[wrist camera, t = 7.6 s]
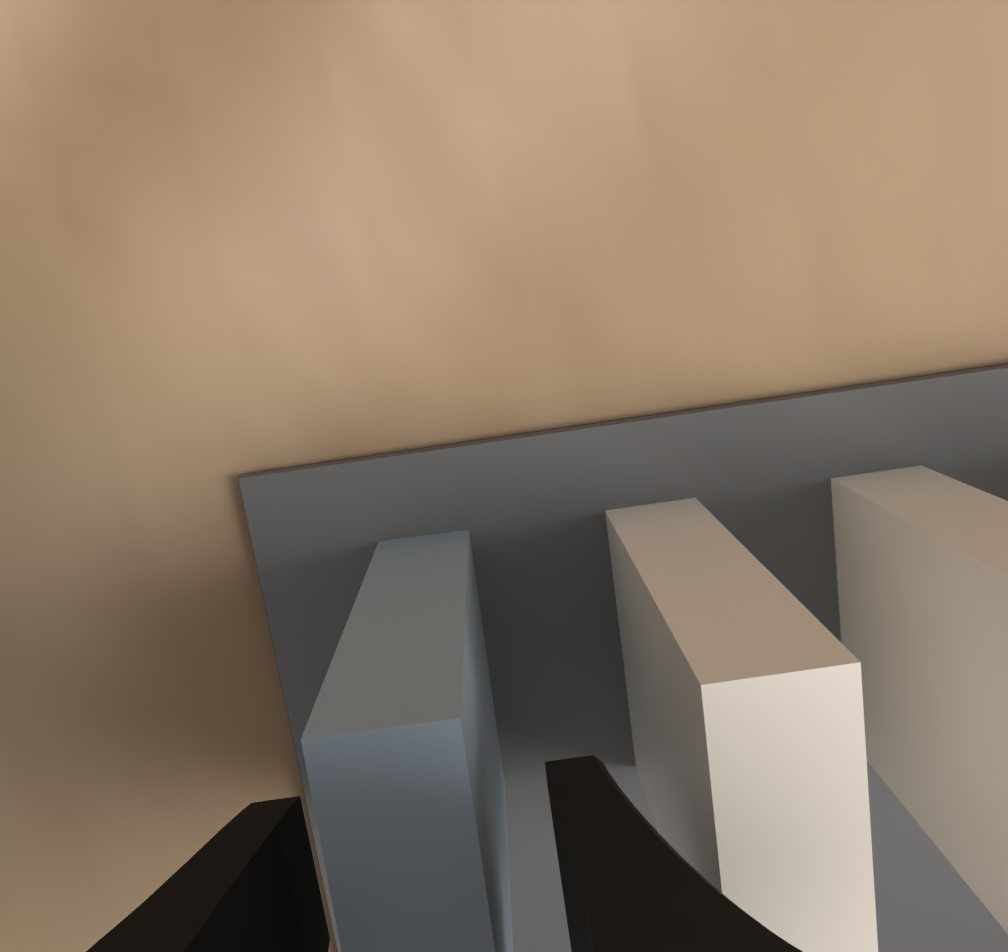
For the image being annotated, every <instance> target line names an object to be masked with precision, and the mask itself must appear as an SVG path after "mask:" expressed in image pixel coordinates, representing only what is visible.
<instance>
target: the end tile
mask: <svg viewBox="0 0 1008 952" xmlns="http://www.w3.org/2000/svg"><path fill="white" fill-rule="evenodd" d="M301 743H302V748H303V754H304V759H305V764H306V769H307V774H308V780H309V785H310V790H311V795H312V800H313V806H314V811H315V816H316V821H317V826H318V832H319V837H320V842H321V847H322V852H323V858H324V863H325V868H326V873H327V878H328V883H329V889H330V894H331V899H332V904H333V909H334V915H335V920H336V925H337V930H338V935H339V941H340V946H341V951H342V952H513V936H512V916H511V896H510V875H509V855H508V835H507V815H506V794H505V781H504V774H503V767H502V760H501V753H500V746H499V738H498V731H497V724H496V717H495V710H494V703H493V696H492V689H491V682H490V675H489V668H488V661H487V653H486V646H485V639H484V632H483V625H482V618H481V611H480V604H479V597H478V590H477V583H476V576H475V568H474V561H473V554H472V547H471V540H470V533H469V530H461V531H454V532H446V533H438V534H431V535H423V536H415V537H408V538H400V539H392V540H385V541H379V542H378V544H377V547H376V549H375V552H374V554H373V557H372V560H371V562H370V565H369V567H368V570H367V572H366V575H365V577H364V580H363V582H362V585H361V587H360V590H359V593H358V595H357V598H356V600H355V603H354V605H353V608H352V610H351V613H350V615H349V618H348V620H347V623H346V626H345V628H344V631H343V633H342V636H341V638H340V641H339V643H338V646H337V648H336V651H335V653H334V656H333V659H332V661H331V664H330V666H329V669H328V671H327V674H326V676H325V679H324V681H323V684H322V686H321V689H320V692H319V694H318V697H317V699H316V702H315V704H314V707H313V709H312V712H311V714H310V717H309V719H308V722H307V725H306V727H305V730H304V732H303V735H302V737H301Z"/></svg>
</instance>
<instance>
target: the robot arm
mask: <svg viewBox="0 0 1008 952" xmlns="http://www.w3.org/2000/svg"><path fill="white" fill-rule="evenodd" d="M545 769H546V778H547V786H548V793H549V800H550V807H551V814H552V821H553V828H554V835H555V841H556V848H557V855H558V862H559V869H560V876H561V883H562V890H563V896H564V903H565V910H566V917H567V924H568V931H569V938H570V945H571V951H572V952H803V951H801V950H799V949H798V948H796V947H794V946H793V945H791V944H790V943H788V942H786V941H785V940H783V939H782V938H780V937H779V936H777V935H776V934H774V933H773V932H771V931H770V930H769V929H767V928H766V927H765V926H763V925H762V924H761V923H759V922H758V921H757V920H755V919H754V918H753V917H751V916H750V915H749V914H747V913H746V912H745V911H743V910H742V909H741V908H740V907H738V906H737V905H736V904H735V903H733V902H732V901H731V900H730V899H728V898H727V897H726V896H725V895H724V894H722V893H721V892H720V891H719V890H718V889H717V888H715V887H714V886H713V885H712V884H711V883H710V882H709V881H707V880H706V879H705V878H704V877H703V876H702V875H701V874H700V873H699V872H698V871H697V870H695V869H694V868H693V867H692V866H691V865H690V864H689V863H688V862H687V861H686V860H685V859H684V858H683V857H682V856H681V855H680V854H679V853H678V852H677V851H676V850H675V849H674V848H673V847H671V845H670V844H669V843H668V842H667V841H666V840H665V839H664V838H663V837H662V836H661V835H660V834H659V833H658V832H657V831H656V829H655V828H654V827H653V826H652V825H651V824H650V823H649V822H648V821H647V820H646V819H645V818H644V816H643V815H642V814H641V813H640V812H639V811H638V810H637V808H636V807H635V806H634V805H633V803H632V802H631V801H630V800H629V799H628V797H627V796H626V795H625V794H624V792H623V791H622V790H621V788H620V787H619V786H618V784H617V783H616V782H615V780H614V779H613V778H612V776H611V775H610V773H609V772H608V770H607V768H606V767H605V765H604V763H603V762H602V761H601V760H599V759H598V758H597V757H595V756H594V755H590V756H582V757H575V758H568V759H561V760H554V761H547V762H545ZM329 940H330V937H329V932H328V928H327V923H326V918H325V913H324V909H323V904H322V899H321V894H320V890H319V885H318V880H317V875H316V871H315V866H314V861H313V856H312V852H311V847H310V842H309V837H308V833H307V828H306V823H305V818H304V814H303V809H302V804H301V799H300V796H298V797H291V798H284V799H277V800H269V801H262V802H255V803H251V804H250V805H249V806H247V807H246V808H245V809H244V810H242V811H241V812H240V813H239V814H238V815H237V816H235V817H234V818H233V819H232V820H231V821H230V822H229V823H228V824H227V825H226V826H224V827H223V828H222V829H221V830H220V831H219V832H218V833H217V834H216V835H215V836H214V837H213V838H212V839H211V840H210V841H209V842H207V843H206V844H205V845H204V846H203V847H202V848H201V849H200V850H199V851H198V852H197V853H196V854H195V855H194V856H193V857H192V858H191V859H190V860H188V861H187V862H186V863H185V864H184V865H183V866H182V867H181V868H180V869H179V870H178V871H177V872H176V873H175V874H173V875H172V876H171V877H170V878H169V879H168V880H167V881H166V882H165V883H164V884H163V885H162V886H161V887H160V888H158V889H157V890H156V891H155V892H154V893H153V894H152V895H151V896H150V897H149V898H148V899H147V900H146V901H144V902H143V903H142V904H141V905H140V906H139V907H138V908H136V909H135V910H134V911H133V912H132V913H131V914H129V915H128V916H127V917H126V918H125V919H124V920H122V921H121V922H120V923H119V924H118V925H117V926H116V927H114V928H113V929H112V930H111V931H110V932H109V933H107V934H106V935H105V936H104V937H103V938H102V939H100V940H99V941H98V942H97V943H96V944H95V945H93V946H92V947H91V948H90V949H89V950H88V951H86V952H328V948H329Z"/></svg>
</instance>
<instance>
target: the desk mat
mask: <svg viewBox="0 0 1008 952" xmlns="http://www.w3.org/2000/svg"><path fill="white" fill-rule="evenodd" d="M920 465H922V466H924V467H926V468H929V469H931V470H934V471H936V472H938V473H941V474H943V475H946V476H948V477H951V478H953V479H955V480H958V481H960V482H963V483H965V484H968V485H970V486H972V487H975V488H977V489H980V490H982V491H985V492H987V493H989V494H992V495H994V496H997V497H999V498H1002V499H1004V500H1006V501H1008V364H1002V365H995V366H988V367H981V368H975V369H968V370H961V371H954V372H947V373H940V374H933V375H926V376H919V377H912V378H905V379H898V380H891V381H884V382H877V383H871V384H864V385H857V386H850V387H843V388H836V389H829V390H822V391H815V392H808V393H801V394H794V395H787V396H780V397H773V398H767V399H760V400H753V401H746V402H739V403H732V404H725V405H718V406H711V407H704V408H697V409H690V410H683V411H676V412H670V413H663V414H656V415H649V416H642V417H635V418H628V419H621V420H614V421H607V422H600V423H593V424H586V425H579V426H572V427H566V428H559V429H552V430H545V431H538V432H531V433H524V434H517V435H510V436H503V437H496V438H489V439H482V440H475V441H468V442H462V443H455V444H448V445H441V446H434V447H427V448H420V449H413V450H406V451H399V452H392V453H385V454H378V455H371V456H364V457H358V458H351V459H344V460H337V461H330V462H323V463H316V464H309V465H302V466H295V467H288V468H281V469H274V470H267V471H260V472H254V473H247V474H243V475H242V476H241V477H240V478H238V480H239V485H240V489H241V494H242V499H243V504H244V509H245V513H246V518H247V523H248V528H249V532H250V537H251V542H252V547H253V551H254V556H255V561H256V566H257V570H258V575H259V580H260V585H261V589H262V594H263V599H264V604H265V609H266V613H267V618H268V623H269V628H270V632H271V637H272V642H273V647H274V651H275V656H276V661H277V666H278V670H279V675H280V680H281V685H282V690H283V694H284V699H285V704H286V709H287V713H288V718H289V723H290V728H291V732H292V737H293V742H294V747H295V751H296V756H297V761H298V766H299V770H300V775H301V780H302V785H303V790H304V794H305V799H306V804H307V809H308V813H309V818H310V823H311V828H312V832H313V837H314V842H315V847H316V851H317V856H318V861H319V866H320V871H321V875H322V880H323V885H324V890H325V894H326V899H327V904H328V909H329V913H330V918H331V923H332V928H333V932H334V937H335V942H336V947H337V952H342V951H341V946H340V941H339V935H338V930H337V925H336V920H335V915H334V909H333V904H332V899H331V894H330V889H329V883H328V878H327V873H326V868H325V863H324V858H323V852H322V847H321V842H320V837H319V832H318V826H317V821H316V816H315V811H314V806H313V800H312V795H311V790H310V785H309V780H308V774H307V769H306V764H305V759H304V754H303V748H302V743H301V737H302V735H303V732H304V730H305V727H306V725H307V722H308V719H309V717H310V714H311V712H312V709H313V707H314V704H315V702H316V699H317V697H318V694H319V692H320V689H321V686H322V684H323V681H324V679H325V676H326V674H327V671H328V669H329V666H330V664H331V661H332V659H333V656H334V653H335V651H336V648H337V646H338V643H339V641H340V638H341V636H342V633H343V631H344V628H345V626H346V623H347V620H348V618H349V615H350V613H351V610H352V608H353V605H354V603H355V600H356V598H357V595H358V593H359V590H360V587H361V585H362V582H363V580H364V577H365V575H366V572H367V570H368V567H369V565H370V562H371V560H372V557H373V554H374V552H375V549H376V547H377V544H378V542H379V541H385V540H392V539H400V538H408V537H415V536H423V535H431V534H438V533H446V532H454V531H461V530H469V533H470V540H471V547H472V554H473V561H474V568H475V576H476V583H477V590H478V597H479V604H480V611H481V618H482V625H483V632H484V639H485V646H486V653H487V661H488V668H489V675H490V682H491V689H492V696H493V703H494V710H495V717H496V724H497V731H498V738H499V746H500V753H501V760H502V767H503V774H504V781H505V794H506V815H507V835H508V855H509V875H510V896H511V916H512V936H513V952H572V951H571V945H570V938H569V931H568V924H567V917H566V910H565V903H564V896H563V890H562V883H561V876H560V869H559V862H558V855H557V848H556V841H555V835H554V828H553V821H552V814H551V807H550V800H549V793H548V786H547V778H546V769H545V762H547V761H554V760H561V759H568V758H575V757H582V756H590V755H594V756H595V757H597V758H598V759H599V760H601V761H602V762H603V763H604V765H605V767H606V768H607V770H608V772H609V773H610V775H611V776H612V778H613V779H614V780H615V782H616V783H617V784H618V786H619V787H620V788H621V790H622V791H623V792H624V794H625V795H626V796H627V797H628V799H629V800H630V801H631V802H632V803H633V805H634V806H635V807H636V808H637V810H638V811H639V812H640V813H641V814H642V815H643V816H644V818H645V819H646V820H647V821H648V822H649V823H650V824H651V825H652V826H653V827H654V828H655V829H656V827H655V824H654V821H653V818H652V814H651V811H650V808H649V805H648V802H647V799H646V796H645V793H644V790H643V787H642V783H641V780H640V777H639V774H638V771H637V768H636V762H635V754H634V746H633V737H632V729H631V721H630V713H629V705H628V696H627V688H626V680H625V672H624V663H623V655H622V647H621V639H620V630H619V622H618V614H617V606H616V597H615V589H614V581H613V573H612V565H611V556H610V548H609V540H608V532H607V523H606V515H605V510H612V509H619V508H626V507H633V506H640V505H647V504H654V503H661V502H668V501H675V500H682V499H689V498H696V499H697V500H698V501H699V502H700V503H701V504H702V505H703V506H704V507H705V508H706V509H707V510H708V511H709V512H710V513H711V514H712V515H713V516H714V517H715V518H716V519H717V520H718V521H719V522H720V523H721V524H722V525H723V526H724V527H725V528H726V529H727V530H728V531H729V532H730V533H731V534H732V535H733V536H734V537H735V538H736V539H737V540H738V541H739V542H740V543H741V544H742V545H743V546H744V547H745V548H746V549H747V550H748V551H749V552H750V553H751V554H752V555H753V556H754V557H755V558H756V559H757V560H758V561H759V562H760V563H761V564H762V565H763V566H765V567H766V568H767V569H768V570H769V571H770V572H771V573H772V574H773V575H774V576H775V577H776V578H777V579H778V580H779V581H780V582H781V583H782V584H783V585H784V586H785V587H786V588H787V589H788V590H789V591H790V592H791V593H792V594H793V595H794V596H795V597H796V598H797V599H798V600H799V601H800V602H801V603H802V604H803V605H804V606H805V607H806V608H807V609H808V610H809V611H810V612H811V613H812V614H813V615H814V616H815V617H816V618H817V619H818V620H819V621H820V622H821V623H822V624H823V625H824V626H825V627H826V628H827V629H828V630H829V631H830V632H831V633H832V634H833V635H834V636H835V637H836V638H837V639H838V640H839V641H840V642H841V628H840V613H839V598H838V582H837V567H836V552H835V536H834V521H833V506H832V491H831V478H837V477H844V476H851V475H858V474H865V473H872V472H878V471H885V470H892V469H899V468H906V467H913V466H920ZM867 775H868V791H869V807H870V824H871V840H872V857H873V873H874V890H875V906H876V922H877V939H878V952H1008V934H1007V933H1006V931H1005V930H1004V929H1003V928H1002V926H1001V925H1000V924H999V923H998V922H997V920H996V919H995V918H994V917H993V915H992V914H991V913H990V912H989V910H988V909H987V908H986V907H985V905H984V904H983V903H982V902H981V901H980V899H979V898H978V897H977V896H976V894H975V893H974V892H973V891H972V889H971V888H970V887H969V886H968V885H967V883H966V882H965V881H964V880H963V878H962V877H961V876H960V875H959V873H958V872H957V871H956V870H955V868H954V867H953V866H952V865H951V864H950V862H949V861H948V860H947V859H946V857H945V856H944V855H943V854H942V852H941V851H940V850H939V849H938V848H937V846H936V845H935V844H934V843H933V841H932V840H931V839H930V838H929V836H928V835H927V834H926V833H925V831H924V830H923V829H922V828H921V827H920V825H919V824H918V823H917V822H916V820H915V819H914V818H913V817H912V815H911V814H910V813H909V812H908V811H907V809H906V808H905V807H904V806H903V804H902V803H901V802H900V801H899V799H898V798H897V797H896V796H895V794H894V793H893V792H892V791H891V790H890V788H889V787H888V786H887V785H886V783H885V782H884V781H883V780H882V778H881V777H880V776H879V775H878V774H877V772H876V771H875V770H874V769H873V767H872V766H871V765H870V764H869V762H868V761H867ZM656 831H657V830H656Z"/></svg>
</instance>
